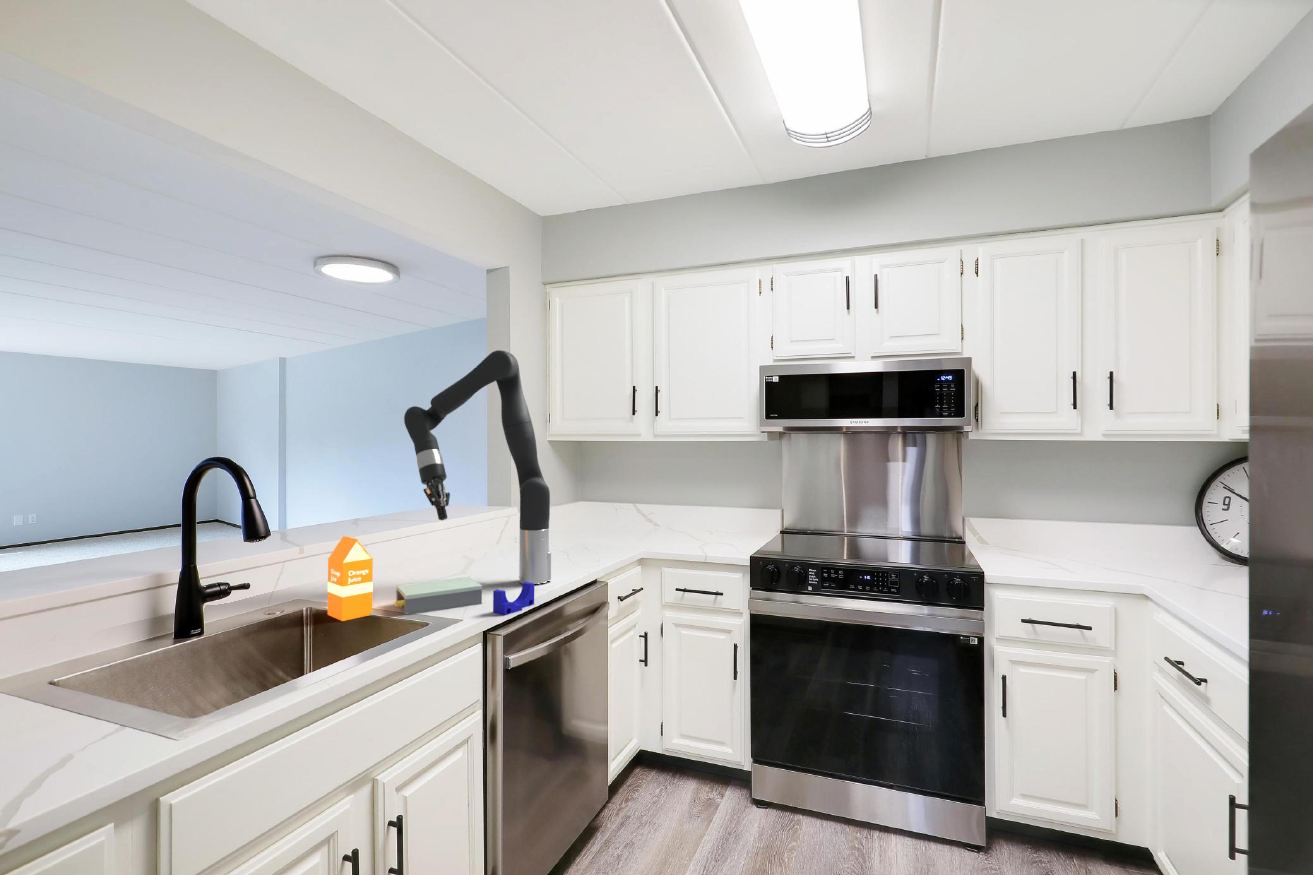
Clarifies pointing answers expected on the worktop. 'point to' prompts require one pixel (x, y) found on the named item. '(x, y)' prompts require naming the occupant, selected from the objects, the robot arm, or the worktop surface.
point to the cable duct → (438, 601)
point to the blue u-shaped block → (506, 607)
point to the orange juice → (349, 580)
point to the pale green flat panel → (438, 587)
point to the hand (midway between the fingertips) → (443, 519)
